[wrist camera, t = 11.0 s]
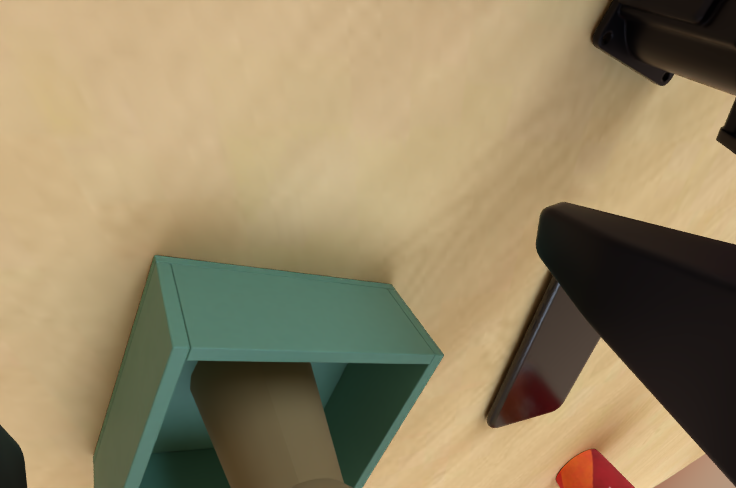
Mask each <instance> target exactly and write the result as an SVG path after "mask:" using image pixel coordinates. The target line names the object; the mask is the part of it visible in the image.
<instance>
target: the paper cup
mask: <svg viewBox="0 0 736 488" xmlns="http://www.w3.org/2000/svg"><path fill="white" fill-rule="evenodd" d="M556 481H557V483H558V485H559V487H560V488H635V487H634V486H633V485H632V484H631V483H630V482H629V481H628V480H627V479H626V478H625V477H624V476H623V475H622V474H621V473H620V472H619V471H618V470H617V469H616V468H615V467H614V466H613V465H612V464H611V463H610V462H609V461H608V460H607V459H606V458H605V457H604V456H603V455H602V454H601V453H599V452H598V451H597V450H596V449H590V450H587V451H584V452H582V453H580V454H579V455H577V456H576V457H574V458H573V459H571V460H570V461H569V462H568V463H567V464H566V465H565V466H564V467H563V468H562V469H561V470H560V472H559V473H558V475H557V477H556Z"/></svg>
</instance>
